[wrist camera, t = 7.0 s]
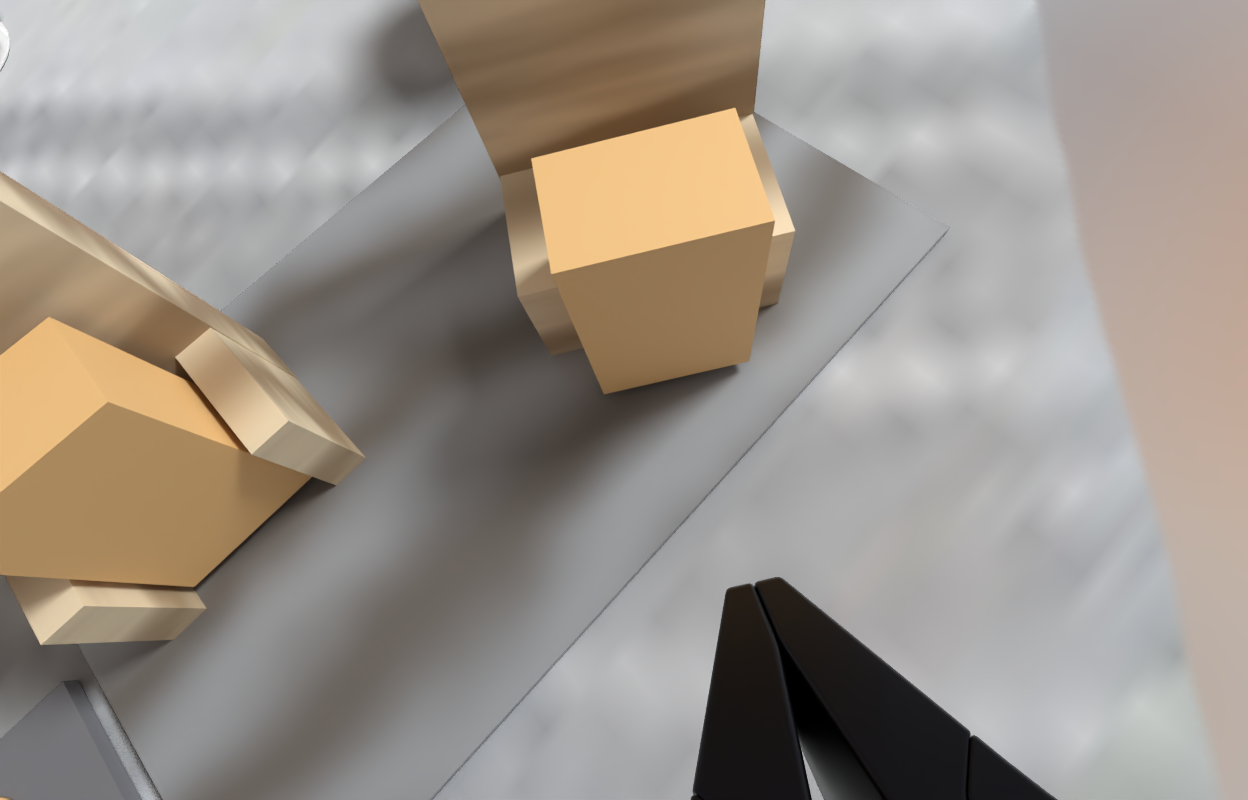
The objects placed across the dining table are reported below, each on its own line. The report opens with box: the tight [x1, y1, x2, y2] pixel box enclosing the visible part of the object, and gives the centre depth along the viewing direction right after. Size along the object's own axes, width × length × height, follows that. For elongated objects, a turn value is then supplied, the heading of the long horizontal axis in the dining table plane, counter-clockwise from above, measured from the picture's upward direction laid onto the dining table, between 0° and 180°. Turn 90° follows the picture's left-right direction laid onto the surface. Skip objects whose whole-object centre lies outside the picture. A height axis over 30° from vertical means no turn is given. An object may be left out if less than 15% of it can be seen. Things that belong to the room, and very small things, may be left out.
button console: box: [0, 0, 950, 800], centre depth 20 cm, size 23×37×14 cm, turn 136°
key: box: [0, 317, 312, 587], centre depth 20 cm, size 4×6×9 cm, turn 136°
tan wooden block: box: [531, 108, 775, 394], centre depth 20 cm, size 4×6×9 cm, turn 101°
